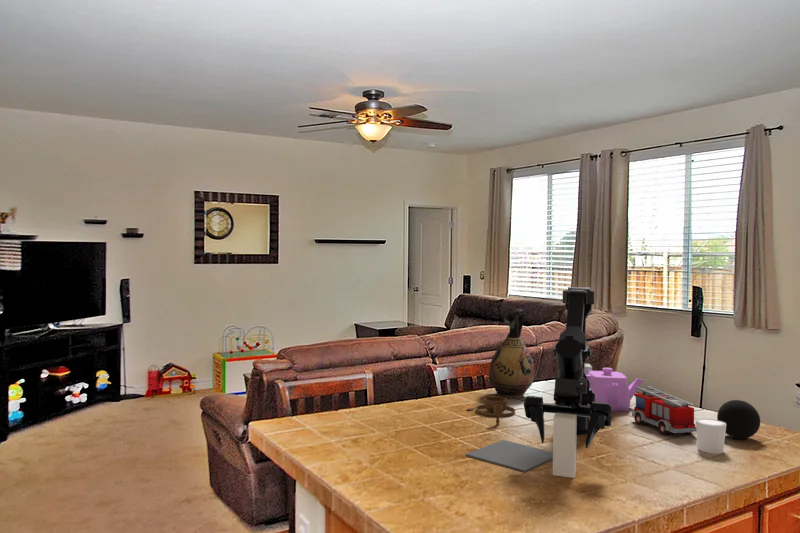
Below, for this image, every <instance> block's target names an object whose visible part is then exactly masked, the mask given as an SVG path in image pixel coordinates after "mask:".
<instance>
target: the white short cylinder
mask: <svg viewBox="0 0 800 533" xmlns="http://www.w3.org/2000/svg"><path fill="white" fill-rule="evenodd" d="M695 427H696V431H697V432H696V439H697V440H696V442H697V449H698V450H699V451H700V452H701V451H702V452H704V453H706V454H707V453H709V454H722V453H724V449H725V440H726V433H725V432H726V423H725V422H722V421H718V420H717V419H710V418H698V419H695Z"/></svg>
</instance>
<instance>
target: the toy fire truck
mask: <svg viewBox="0 0 800 533" xmlns="http://www.w3.org/2000/svg"><path fill="white" fill-rule="evenodd" d="M636 388H637V390H639V391H641V392H635V393H634V395H633V397H635V406H633V409H632V412H631V417H632V418H634V422H635V424H636V425H638V426H643V425H645V422H646V423H648V424H651V425H653V426H655V427H657V430H658V432H659V434H660V435H661V436H667V435H669V434H670V433H672V434H680V433H685V434H692V433H694V432H695V433H697V431H696V423H695V404H694V403H691V402H689V401H687V400H684V399H681V398H680V397H676V396H674V395H671V394H669V393H667V392H664V391H661V390H659V389H657V388H655V387H654V388H653V387H652V386H650V385H647V386H646V388H642V387H640V386H639V387H636Z"/></svg>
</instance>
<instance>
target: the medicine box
mask: <svg viewBox="0 0 800 533" xmlns="http://www.w3.org/2000/svg"><path fill="white" fill-rule="evenodd" d="M589 371H593V366H592V364H590V363H585V374H586V375H588V373H589Z"/></svg>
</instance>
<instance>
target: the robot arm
mask: <svg viewBox="0 0 800 533" xmlns="http://www.w3.org/2000/svg"><path fill="white" fill-rule="evenodd" d="M561 303H562V304H565V305H564V306H565V310H566V312H567V313H566V320H565V321H566V322H565V329H564V330H563V331H562V332H561V333H560V334H559V337H558V338H559V339H558V341H557V342H555V343H556V344H555V346H554V349H553V354H554V355H553V356H554V357H555V359H556V366H557V377H556V378H555V379H554V388H553V390H554V391H553V401H554V403H548V402H544V398H543V396H536V395H535V396H534V395H527V396H526V397H525V398H524V399H523V400H524V401H523V408H524V414H525V417H526V418H527V419H530V421H531V422H533V423H535V425H536V427H537V429H538V431H539V432H538V433H539V437H540V441H541V444H544V442H545V418H544V416H545V415H544V414H545V413H549V414H555V413H565V414H575V415H577V433H576V435H582V434H584V435H585V434H586V437H585V445H584V447H585V449H588V448H589V446H590V445H591V443H592V441H593V439H594V437H595V436H596V434H598V432H599V431H600V430H604V429H605V427H607V428H608V427H611V426H612V411H611V405H610V404H609V403H603V402H595V394H594V393H593V389H590V381H589V380H588V378H587V376H586V374H585V364H586V362H587V361H586V360H589V359H590V357H591V355H592V349H591V348H590V344H587V336H586V335H587V334H586V331H587V319H588V317H589V316H590V314H591V313H592V311H593V305H596V304H595V303H596V292H595V291H594V290H591V287H587V286H586V287H583V286H582V287H578V286H567V290H562V302H561ZM588 404H590V405H588Z"/></svg>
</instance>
